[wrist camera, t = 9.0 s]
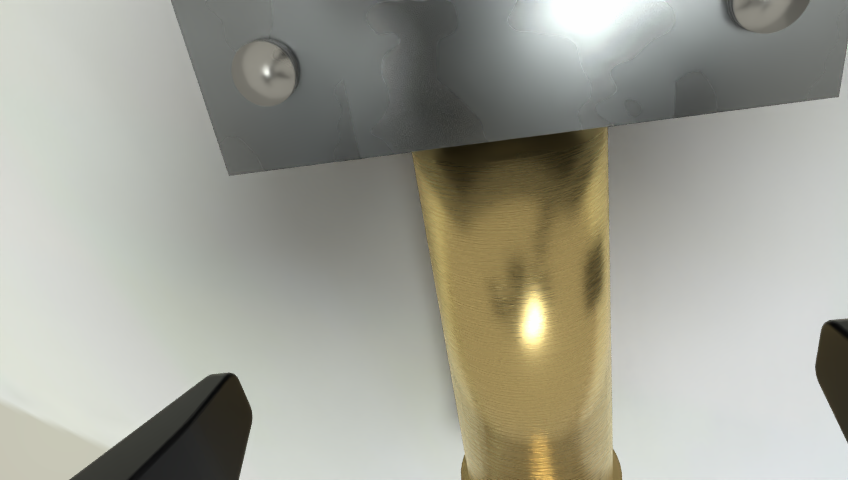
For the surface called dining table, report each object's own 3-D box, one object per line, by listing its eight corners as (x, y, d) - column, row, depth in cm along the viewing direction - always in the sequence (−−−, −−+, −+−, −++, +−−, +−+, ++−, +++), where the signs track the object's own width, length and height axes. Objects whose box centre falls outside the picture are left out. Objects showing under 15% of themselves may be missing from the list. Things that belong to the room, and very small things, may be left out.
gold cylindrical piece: (410, 113, 18) (385, 180, 13) (596, 87, 18) (646, 148, 12) (464, 429, 24) (462, 558, 19) (604, 421, 24) (640, 554, 19)
